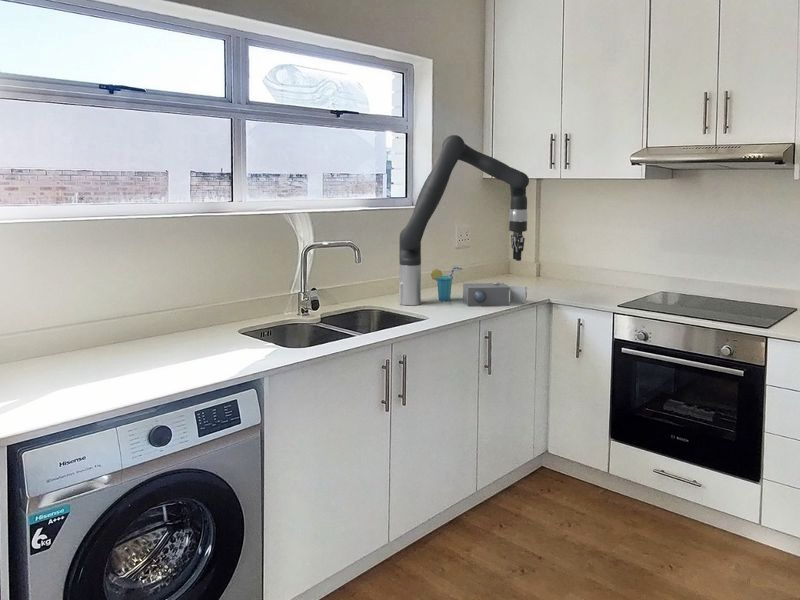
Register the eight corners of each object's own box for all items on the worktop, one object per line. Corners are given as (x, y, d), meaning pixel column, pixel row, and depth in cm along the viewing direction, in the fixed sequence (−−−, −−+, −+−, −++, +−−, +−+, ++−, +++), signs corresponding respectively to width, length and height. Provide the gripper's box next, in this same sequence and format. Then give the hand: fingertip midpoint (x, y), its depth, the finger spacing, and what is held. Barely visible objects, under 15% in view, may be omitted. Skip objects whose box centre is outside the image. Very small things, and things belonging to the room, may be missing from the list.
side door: (525, 303, 298) (525, 287, 297) (502, 299, 306) (503, 284, 305) (526, 303, 299) (527, 286, 298) (504, 299, 307) (505, 283, 306)
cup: (458, 298, 313) (458, 265, 310) (464, 301, 305) (464, 267, 302) (428, 299, 309) (429, 266, 306) (433, 302, 302) (434, 268, 299)
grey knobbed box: (468, 307, 291) (469, 286, 290) (462, 301, 305) (463, 281, 303) (510, 306, 293) (511, 286, 291) (503, 300, 306) (503, 281, 305)
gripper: (505, 219, 299) (504, 258, 302) (513, 221, 285) (512, 262, 288) (522, 218, 300) (521, 257, 303) (531, 221, 286) (530, 262, 289)
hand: (517, 259), depth 295 cm, fingers open, 4 cm apart
